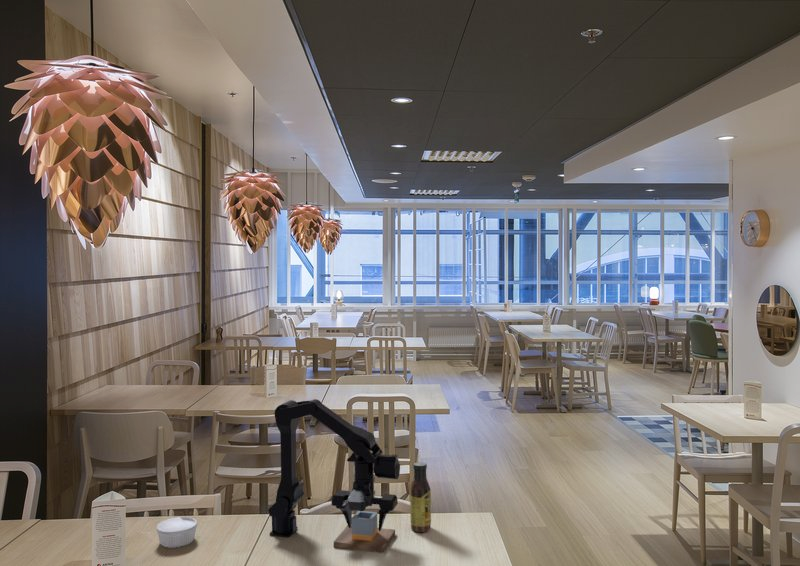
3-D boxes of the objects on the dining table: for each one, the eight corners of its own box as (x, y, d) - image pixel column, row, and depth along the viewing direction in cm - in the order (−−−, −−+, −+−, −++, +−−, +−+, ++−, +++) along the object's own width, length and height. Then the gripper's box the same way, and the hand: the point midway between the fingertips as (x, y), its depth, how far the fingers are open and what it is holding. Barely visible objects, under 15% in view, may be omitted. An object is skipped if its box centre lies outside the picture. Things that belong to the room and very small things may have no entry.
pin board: (333, 547, 181) (333, 528, 181) (347, 529, 193) (347, 512, 193) (383, 552, 177) (383, 533, 177) (395, 534, 189) (394, 517, 189)
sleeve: (351, 538, 183) (351, 518, 183) (358, 530, 189) (358, 510, 189) (371, 540, 181) (371, 520, 181) (377, 532, 187) (377, 512, 187)
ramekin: (205, 537, 189) (205, 519, 189) (177, 553, 179) (177, 534, 179) (177, 531, 194) (176, 514, 194) (148, 546, 184) (148, 528, 184)
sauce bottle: (429, 533, 189) (428, 468, 189) (408, 532, 190) (407, 467, 190) (432, 524, 196) (431, 461, 195) (412, 523, 197) (411, 460, 196)
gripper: (323, 483, 179) (324, 537, 180) (387, 488, 174) (387, 544, 175) (337, 470, 190) (338, 521, 190) (397, 475, 185) (398, 527, 186)
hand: (364, 529), depth 185 cm, fingers open, 9 cm apart
